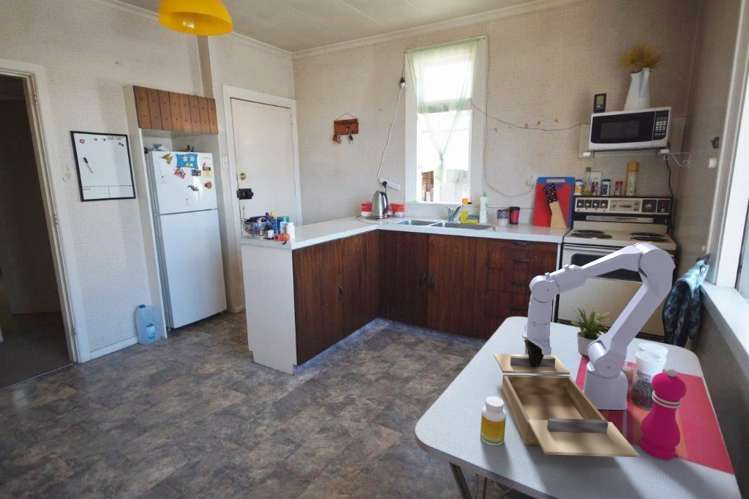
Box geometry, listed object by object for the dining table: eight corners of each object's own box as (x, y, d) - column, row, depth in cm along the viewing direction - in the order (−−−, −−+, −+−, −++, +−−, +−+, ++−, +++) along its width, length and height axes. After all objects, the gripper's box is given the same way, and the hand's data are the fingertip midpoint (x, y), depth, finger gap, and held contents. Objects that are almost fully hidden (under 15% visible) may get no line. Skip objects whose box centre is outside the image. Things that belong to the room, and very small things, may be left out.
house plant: (556, 355, 130) (561, 309, 126) (561, 339, 141) (566, 296, 138) (606, 366, 123) (613, 318, 119) (607, 349, 134) (613, 304, 130)
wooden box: (567, 395, 107) (570, 376, 106) (606, 447, 88) (609, 424, 87) (501, 394, 108) (503, 374, 107) (525, 445, 89) (527, 422, 87)
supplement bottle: (505, 448, 88) (508, 409, 86) (480, 444, 89) (483, 406, 87) (502, 432, 93) (505, 395, 91) (479, 429, 94) (481, 393, 92)
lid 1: (555, 356, 116) (556, 347, 115) (569, 374, 106) (570, 364, 106) (493, 355, 117) (494, 346, 116) (502, 372, 107) (503, 362, 106)
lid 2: (611, 424, 86) (612, 412, 85) (638, 457, 77) (640, 443, 76) (528, 421, 87) (529, 409, 86) (544, 454, 77) (546, 440, 77)
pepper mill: (678, 466, 82) (696, 381, 78) (637, 453, 86) (652, 371, 82) (675, 446, 88) (690, 366, 84) (636, 434, 92) (650, 357, 88)
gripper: (515, 310, 112) (512, 353, 115) (533, 331, 98) (528, 380, 101) (540, 310, 112) (536, 353, 115) (561, 332, 98) (556, 380, 101)
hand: (534, 366), depth 108 cm, fingers closed
